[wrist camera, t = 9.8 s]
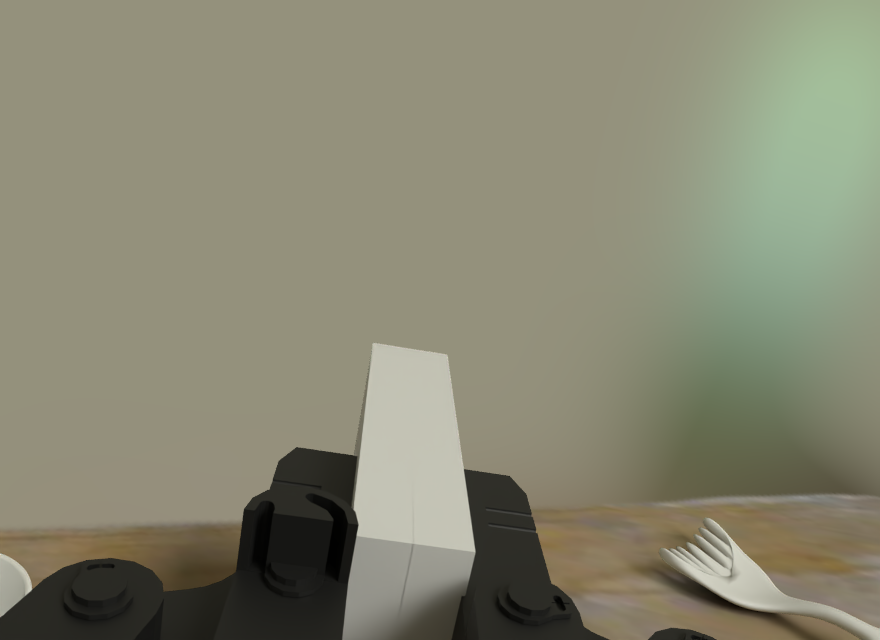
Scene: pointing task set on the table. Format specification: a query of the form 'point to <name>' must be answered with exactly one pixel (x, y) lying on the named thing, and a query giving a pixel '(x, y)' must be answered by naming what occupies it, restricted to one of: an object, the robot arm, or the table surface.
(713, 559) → the white plastic spork
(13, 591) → the white cup
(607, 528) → the table surface
